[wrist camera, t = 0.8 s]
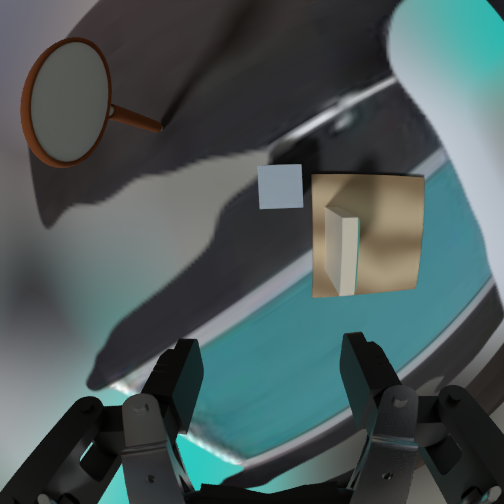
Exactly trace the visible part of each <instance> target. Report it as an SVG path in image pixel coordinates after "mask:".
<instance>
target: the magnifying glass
mask: <svg viewBox="0 0 504 504" xmlns="http://www.w3.org/2000/svg"><path fill="white" fill-rule="evenodd" d="M111 96H112V88H111V77H110V72H109V68H108V64H107V62H106V59H105V57H104V55H103V53H102V52H101V50H100V49H99V48H98V47H97V46H96V45H95V44H94V43H93V42H91V41H89V40H87V39H84V38H79V37H73V38H67V39H64V40H61V41H59V42H57V43H55V44H53V45H52V46H50V47H49V48H48V49H47V50H45V51H44V52H43V53H42V54H41V55H40V57H39V58H38V59H37V61H36V62H35V63H34V65H33V67H32V68H31V70H30V72H29V74H28V76H27V79H26V81H25V85H24V88H23V91H22V97H21V109H20V113H21V123H22V128H23V132H24V135H25V138H26V141H27V143H28V145H29V147H30V148H31V150H32V151H33V153H34V154H35V155H36V156H37V157H38V158H39V159H40V160H41V161H43V162H44V163H46V164H48V165H50V166H53V167H57V168H67V167H72V166H75V165H77V164H79V163H81V162H82V161H84V160H85V159H86V158H87V157H88V156H89V155H90V154H91V153H92V152H93V151H94V150H95V148H96V147H97V145H98V144H99V142H100V140H101V138H102V136H103V133H104V131H105V128H106V125H107V122H108V119H111V120H115V121H118V122H122V123H126V124H129V125H133V126H136V127H139V128H143V129H146V130H149V131H152V132H156V133H157V132H160V131H162V129H163V126H162V124H161V123H160V122H157V121H155V120H152V119H150V118H148V117H145V116H143V115H140V114H138V113H135V112H132V111H130V110H127V109H125V108H122V107H119V106H117V105H114V104H111Z"/></svg>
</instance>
